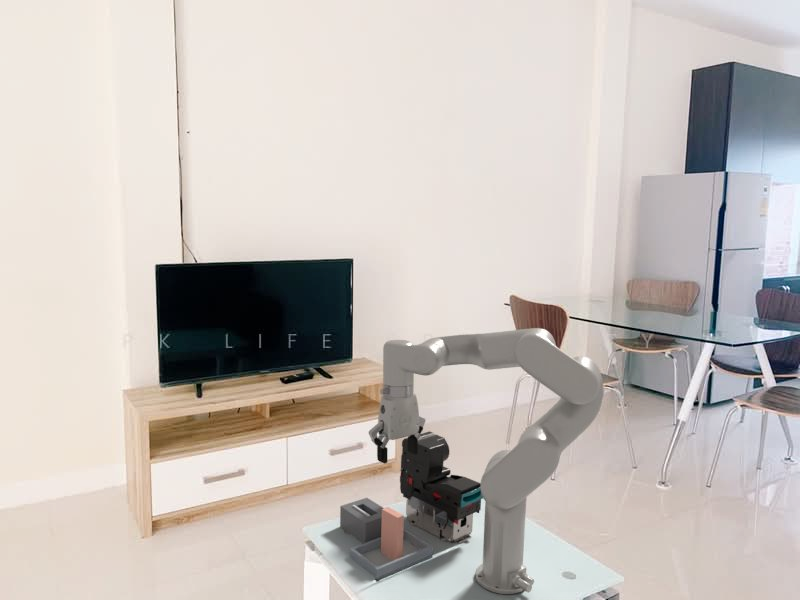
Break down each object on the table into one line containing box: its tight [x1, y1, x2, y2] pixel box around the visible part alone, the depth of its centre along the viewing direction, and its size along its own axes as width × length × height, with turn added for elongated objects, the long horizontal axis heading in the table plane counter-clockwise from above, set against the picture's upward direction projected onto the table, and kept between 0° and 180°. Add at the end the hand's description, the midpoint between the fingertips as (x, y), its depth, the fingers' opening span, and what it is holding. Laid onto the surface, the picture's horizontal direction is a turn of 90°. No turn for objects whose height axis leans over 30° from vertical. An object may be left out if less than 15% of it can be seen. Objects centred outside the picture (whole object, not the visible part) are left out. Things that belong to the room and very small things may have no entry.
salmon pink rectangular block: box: [380, 506, 405, 561], centre depth 152 cm, size 6×2×12 cm, turn 43°
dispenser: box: [339, 497, 385, 544], centre depth 165 cm, size 12×9×7 cm
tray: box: [349, 528, 434, 582], centre depth 153 cm, size 12×18×3 cm, turn 129°
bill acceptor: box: [399, 431, 484, 544], centre depth 167 cm, size 10×23×25 cm, turn 44°
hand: (397, 457), depth 150 cm, fingers open, 9 cm apart
